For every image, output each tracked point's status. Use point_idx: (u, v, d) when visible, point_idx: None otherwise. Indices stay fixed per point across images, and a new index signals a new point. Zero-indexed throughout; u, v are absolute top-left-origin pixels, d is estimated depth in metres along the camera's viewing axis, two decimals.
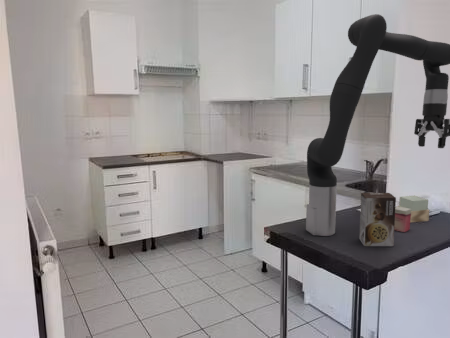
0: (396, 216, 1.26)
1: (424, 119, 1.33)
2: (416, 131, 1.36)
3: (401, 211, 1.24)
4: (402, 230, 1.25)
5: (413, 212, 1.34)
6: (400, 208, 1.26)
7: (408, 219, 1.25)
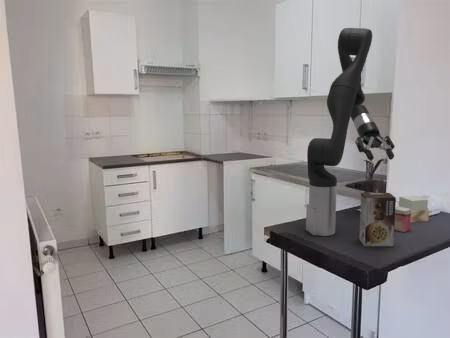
0: (396, 216, 1.26)
1: (366, 137, 1.40)
2: (363, 146, 1.36)
3: (401, 211, 1.24)
4: (402, 230, 1.25)
5: (413, 212, 1.34)
6: (400, 208, 1.26)
7: (408, 219, 1.25)
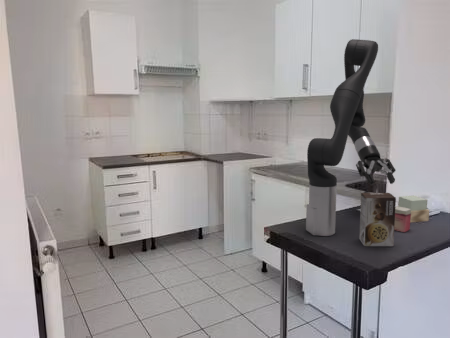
0: (396, 216, 1.26)
1: (366, 160, 1.40)
2: (364, 170, 1.36)
3: (401, 211, 1.24)
4: (402, 230, 1.25)
5: (413, 212, 1.34)
6: (400, 208, 1.26)
7: (408, 219, 1.25)
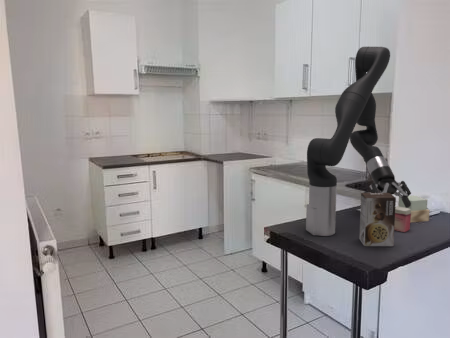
0: (396, 216, 1.26)
1: (380, 182, 1.32)
2: None
3: (401, 211, 1.24)
4: (402, 230, 1.25)
5: (413, 212, 1.34)
6: (400, 208, 1.26)
7: (408, 219, 1.25)
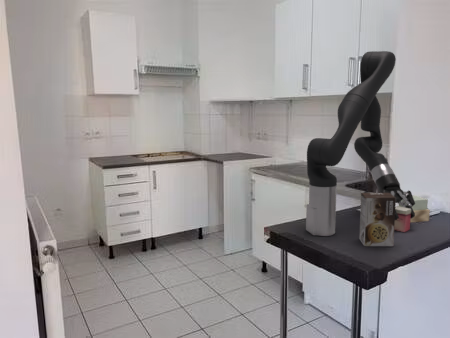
0: None
1: (385, 191, 1.29)
2: None
3: (401, 211, 1.24)
4: (402, 230, 1.25)
5: None
6: (400, 208, 1.26)
7: (408, 219, 1.25)
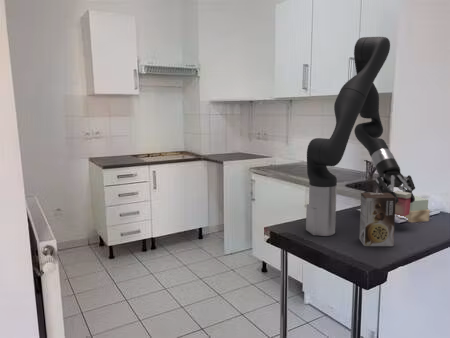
0: None
1: (385, 175, 1.28)
2: (386, 187, 1.25)
3: (401, 195, 1.23)
4: (402, 214, 1.24)
5: (413, 212, 1.34)
6: (400, 192, 1.25)
7: (408, 203, 1.24)
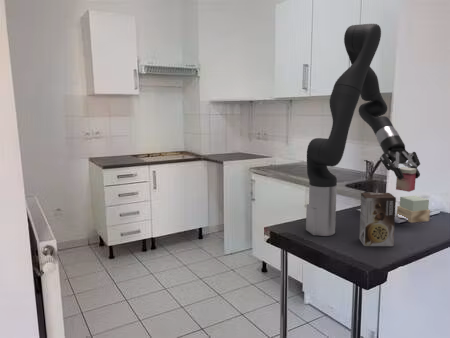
0: None
1: (390, 152, 1.29)
2: (391, 163, 1.26)
3: (406, 170, 1.24)
4: (407, 190, 1.25)
5: (414, 212, 1.34)
6: (405, 168, 1.26)
7: (413, 179, 1.25)
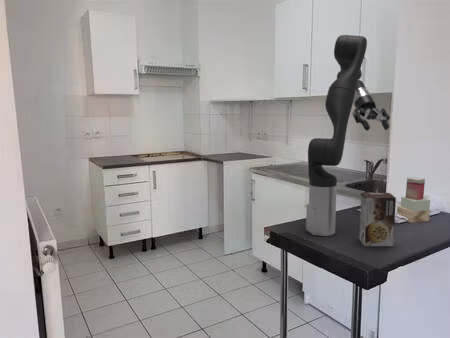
0: (410, 185, 1.36)
1: (362, 109, 1.47)
2: (360, 117, 1.44)
3: (415, 180, 1.35)
4: (416, 198, 1.35)
5: (414, 212, 1.34)
6: (414, 178, 1.36)
7: (422, 188, 1.35)
